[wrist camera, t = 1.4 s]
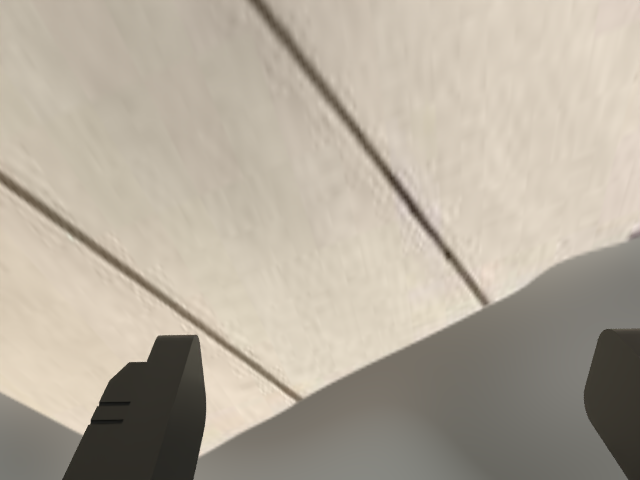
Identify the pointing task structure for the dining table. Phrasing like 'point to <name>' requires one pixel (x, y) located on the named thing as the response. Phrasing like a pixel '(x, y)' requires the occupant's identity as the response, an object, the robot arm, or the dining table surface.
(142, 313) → the dining table surface
